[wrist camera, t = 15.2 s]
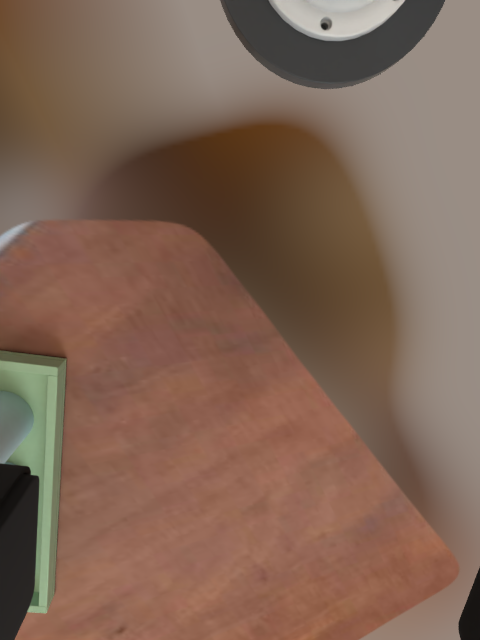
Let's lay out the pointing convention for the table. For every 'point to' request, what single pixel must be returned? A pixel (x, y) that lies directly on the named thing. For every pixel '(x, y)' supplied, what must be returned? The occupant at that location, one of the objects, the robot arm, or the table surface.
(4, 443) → the loose bottle
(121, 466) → the table surface
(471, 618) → the robot arm
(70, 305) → the table surface
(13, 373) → the tray
